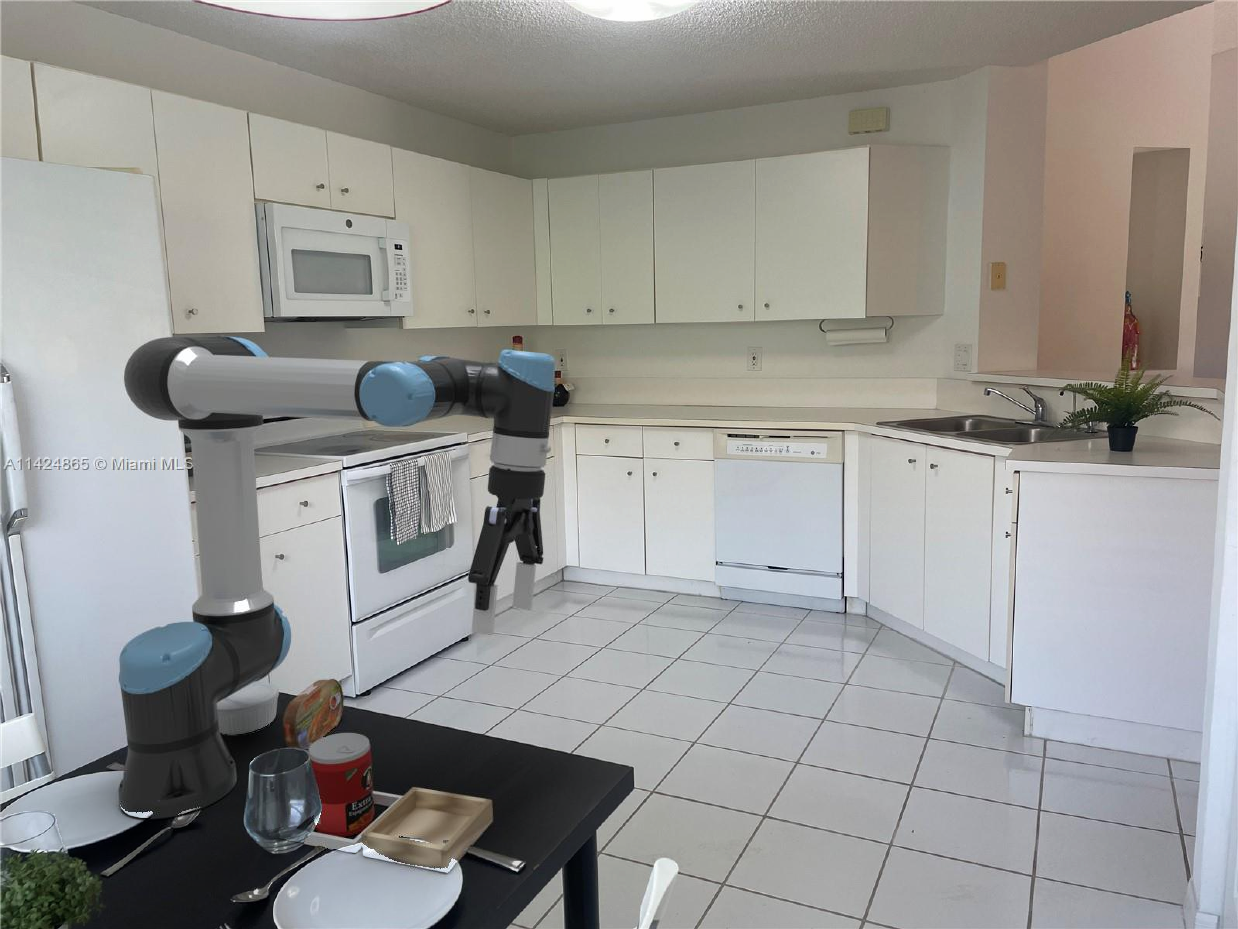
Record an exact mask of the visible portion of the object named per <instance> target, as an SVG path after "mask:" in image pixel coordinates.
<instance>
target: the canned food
mask: <svg viewBox="0 0 1238 929" xmlns="http://www.w3.org/2000/svg"><path fill="white" fill-rule="evenodd" d="M371 750H372V749H371V744H370V740H369V738H368V737H367V736H366V735H363V734H360V733H355V732H340V733H334V734H328V735H327V736H326V737H323V738H321V739H319V740H317V741H315V742H314V743H313V744H312V745H311V746H310V747H309V750H308V751H307V752H308V753H309V756H310V759H311V762H312V768H313V771H314V774H315V779H316V783H317V785H318V788H319V795H320V799H321V804H322V811H321V815H320V818H319V821H318V823H317V825H316V827H315V829H316V831H317V833H322V834H327V835H332V836H337V837H342V838H345V837H350V836H353V835H356V834H360V832H361V833H362V832H363V831H364V830H365V829H366V828H367V827H368V826H369V825H370V824H371V823H372V822H373V820H374V817H375V804H374V797H373V791H374V783H373V782H374V781H373V768H372V765H373V764H372V752H371Z"/></svg>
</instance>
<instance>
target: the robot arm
mask: <svg viewBox="0 0 1238 929" xmlns="http://www.w3.org/2000/svg"><path fill="white" fill-rule="evenodd" d="M497 361H498V362H486V361H478V360H477V361H476V360H471V359H462V358H454V357H450V356H445V355H439V356H438V355H435V356H432V355H430V356H429V355H426V356H425V355H424V356H421V357H420V358H418V360H417V361H392V360H391V361H389V360H388V361H387V360H378V361H377V360H375V361H374V360H358V359H357V360H356V359H354V360H353V359H334V358H333V359H329V358H328V359H327V358H325V359H324V358H308V357H307V358H303V357H302V358H301V357H276V356H274V357H273V356H272V357H271V356H268V354H267V353H266V352H265V351H263V349H262V348H261V347H260V346H259V345H258V344H256V343H255V342H253V341H251V340H248V339H245V338H243V337H237V336H236V337H235V336H226V335H215V336H213V335H212V336H208V335H207V336H184V337H183V336H181V337H179V336H177V337H176V336H167V337H160V338H155V339H152V340H149V341H148V342H145V343H144V344H141V345H140V346H139V347H138V348H137V349H135V350H134V351H133V353H132V354H131V356H130V357H129V358H128V360H127V362H126V363H125V367H124V371H123V372H124V375H123V382H124V383H123V384H124V388H125V391H126V393H127V396H128V397H129V399H130V401H131V402H132V403H133V404H134V406H136V408H137V409H139V410H140V411H141V412H143V413H144V414H146V415H147V416H150V417H152V418H154V419H159V420H163V421H177V423H178V424H177V425H178V430H179V431H180V432H181V433H183V434H184V435H185V436H187V438H189V440H190V444H191V445H190V446H191V458H192V473H193V485H194V499H195V502H194V503H195V512H196V513H195V514H196V515H195V516H196V526H197V527H196V529H197V540H198V541H197V544H198V555H199V568H200V582H201V595H200V596H199V597H198V598H197V599H196V601H195V602H194V603H192V605H191V610H192V621H180V622H179V621H178V622H172V623H168V624H166V625H164V626H156V627H154V628H151V629H148V630H146V631H144V632H142V633H140V634H138V635H137V636H135V637H134V638H132V639H131V640H129V641H128V642H127V643H126V645H124V646H123V648H122V650H121V652H120V654H119V673H118V683H119V686H120V691H121V700H122V708H123V716H124V724H125V733H126V734H125V735H126V742H127V753H126V759H125V764H124V768H123V775H122V779H121V781H119V782H120V783H119V785H118V792H117V793H118V794H117V796H118V803H120V805H121V807H122V808H123V809H125V811H128V812H136V813H137V812H142V813H143V812H148V811H149V812H150V811H152V812H153V815H152V816H151V818H150V819H149V820H157V819H158V820H159V819H166V818H168V819H169V818H174V817H178V816H177V815H178V814H179V813H181V812H182V811H186V810H189V809H193V808H197V807H198V808H199V807H201V809H203V808H206V807H208V806H210V805H213V804H214V803H216V802H217V801H219V800H222V798H224V797H225V796H227V795H228V794H229V793H230V792H231V791H232V790H233V788H234V787H235V786H236V783H237V780H238V779H237V777H238V776H237V768H236V762H235V760H234V758H233V757H232V755H231V753H230V751H229V749H228V746H227V743H226V742H225V740H224V738H223V736H222V734H221V733H220V731H219V725H218V713H217V703H218V702H219V701H221V700H223V699H225V698H226V697H228V696H230V695H232V694H233V693H235V692H237V691H239V690H241V689H242V688H244V687H246V686H248V685H249V684H251V683H253V682H260V681H261V680H262V679H265V677H267V676H268V675H269V674H270V673H272V672H273V671H274V670H276V669H277V668H278V667H279V666H281V664H282V663H283V662H284V660H285V659H286V658H287V656H288V653H289V651H290V647H291V645H292V631H291V630H292V629H291V626H290V622H289V619H288V617H287V616H285V615H283V612H284V611H283V610H282V609H281V608H280V606H278V605H277V604H275V599H274V596H273V594H271V593H270V592H268V591H267V590H266V589H265V588H264V587H263V574H262V557H261V556H262V555H261V544H260V540H261V539H260V524H259V512H258V511H259V510H258V509H259V508H258V495H257V494H258V492H257V479H256V478H257V477H256V474H257V473H256V461H255V460H256V458H255V445H254V444H255V443H254V442H255V441H254V437H255V436H256V434H257V433H258V432H259V431H260V430H261V429H263V427H264V416H269V417H271V416H272V417H287V418H288V417H290V418H291V417H292V418H309V419H326V420H329V419H330V420H345V421H347V420H348V421H367V422H374V423H376V424H378V425H381V426H384V427H390V428H393V427H397V428H400V427H410V426H414V425H415V424H418V423H423V422H428V421H432V420H437V419H443V418H447V417H452V416H465V417H466V416H467V417H477V418H483V419H493V428H492V436H491V443H490V445H491V446H490V454H489V455H490V457H489V460H490V462H492V463H493V465H491V466H490V467H489V470H488V481H487V491H488V493H489V494H490V495H492V496H496V497H497V502H496V506H494V507H493V506H489V505H487V506H486V507H485V509H484V515H483V524H482V528H481V531H480V534H479V538H478V541H477V545H476V548H475V550H474V551H475V552H474V556H473V559H472V561H471V565H470V568H469V572H468V577H467V581H468V583H470V584H475V590H474V601H473V612H472V622H471V632H472V633H476V634H482V635H487V636H492V635H494V628H495V617H496V607H497V606H496V605H497V596H498V585H499V584H495V583H496V581H497V577H498V576H499V573H500V570H501V567H502V565H503V562H504V560H505V557H506V554H507V552H508V549H509V546H510V544H511V543H514V544H515V548H516V551H517V554H518V558H519V561H521V562H519V561H518V562H516V568H515V576H514V577H515V578H514V585H513V598H512V606H511V607H512V608H516V609H517V608H518V609H522V610H527V611H531V610H532V609H533V599H534V589H535V580H536V571H537V565H543V562H544V544H543V533H542V532H543V531H542V523H541V499H542V497H543V496H544V491H545V481H546V472H545V471H544V470H543V469H542V468H544V467H546V465H547V458H548V454H550V452H551V451H552V447H551V446H549V438H550V428H551V419H552V410H553V404H554V393H555V389H556V387H555V377H556V374H555V372H556V362H555V359H554V357H553V356H552V355H550V354H548V353H542V352H533V351H526V350H525V351H523V350H513V349H503V350H502V351H501V352H500V355H499V358H498V360H497ZM536 564H537V565H536ZM120 805H119V806H120Z"/></svg>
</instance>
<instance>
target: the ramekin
mask: <svg viewBox="0 0 1238 929" xmlns="http://www.w3.org/2000/svg"><path fill="white" fill-rule="evenodd" d="M279 695H280V692H279V688H278V686H277V685H276V684H273V683H271V682H267V681H266V682H265V681H256V682H253V683H251V684H249V685H248V686H246V687H244V688H242V689H241V690H239V691H237V692H235V693H233V694H232V695H230V696H228V697H226V698H225V699H223V700H221V701H219V702H218V703H217V713H218V725H219V731H220V734H221V733H222V734H221V735H225V734H227V735H226V736H237V735H236V734H243V733H247V732H252V731H255V730H257V729H261V728H263V727H265V726H267V725H268V724H269V725H271V724H272V723H271V722H273V721H274V720H275V718H276V715H277V708H278V697H279ZM270 723H271V724H270ZM269 725H268V726H269ZM268 726H267V727H268ZM265 728H266V727H265ZM263 729H264V728H263ZM261 730H262V729H261ZM252 733H253V732H252ZM243 735H244V734H243Z"/></svg>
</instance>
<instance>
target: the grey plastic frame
mask: <svg viewBox="0 0 1238 929" xmlns="http://www.w3.org/2000/svg"><path fill="white" fill-rule="evenodd" d="M403 796H404V795H400V794H399V795H398V794H393V793H387V792H383V791H377V790H376V791H375V790H373V797H374V805H380V806H385V807H388V808H387V809H386V810H384V811H383V812H382V813H381V814H379V816H378V817H377V818H376V819H375V820H374V821H372V823H371V824H370V825H369V826H368V827H367V828H366V829H364V830H363V831H361V833H360V832H359V833H358V835H357V836H356V837H355V838H354V839H351V838H345V837H337V836H332V835H327V834H322V833H319V832H315V831H311V832H312V833H311V834H310V835H309V836H308V838H306V839H305V842H304V844H303V845H308V846H313V847H317V846H319V845H320V846H323V847H325V848H324V849H327V848H328V849H329V850H333V849H339V848H342V847H346V846H348V845H355V844H356V843H360V842H362V837H361V834H362V833H364V832H365V831H366V830H367V829H368V828H369V827H370V826H371V825H372V824H373V823H374V822H375V821H377V820H378V819H379V818H380V817H381V816H382V815H383V814H384V813H385V812H386V811H387V810H389V809H390V808H391V807H392V806H393V805H394V804H395V803H396V802H397V801H398V800H399V799H401V798H402V797H403ZM333 851H334V850H333Z"/></svg>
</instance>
